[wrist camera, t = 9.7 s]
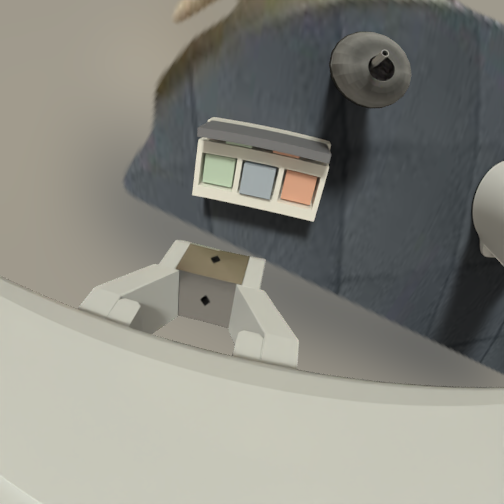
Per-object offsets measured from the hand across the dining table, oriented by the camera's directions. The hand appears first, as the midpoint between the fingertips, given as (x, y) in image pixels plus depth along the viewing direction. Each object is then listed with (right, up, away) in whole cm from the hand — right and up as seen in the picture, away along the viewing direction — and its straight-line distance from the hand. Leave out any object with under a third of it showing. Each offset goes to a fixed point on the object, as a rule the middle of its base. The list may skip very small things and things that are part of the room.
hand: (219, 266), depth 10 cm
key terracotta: (+7, +9, +27) cm, 29 cm away
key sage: (-3, +11, +27) cm, 29 cm away
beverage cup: (+13, +22, +21) cm, 33 cm away
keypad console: (+3, +12, +29) cm, 31 cm away
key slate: (+2, +9, +26) cm, 28 cm away
